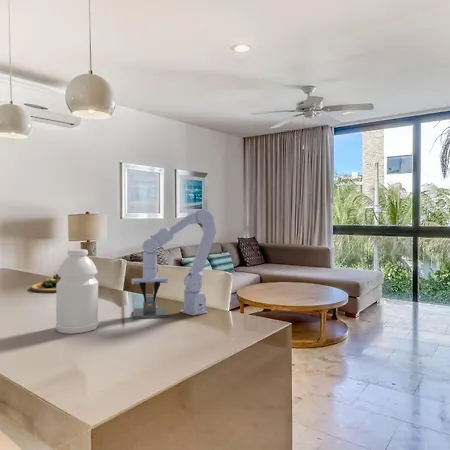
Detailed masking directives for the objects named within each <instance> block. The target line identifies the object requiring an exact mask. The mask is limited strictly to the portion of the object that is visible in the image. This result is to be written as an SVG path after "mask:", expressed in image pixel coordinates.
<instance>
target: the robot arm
mask: <svg viewBox="0 0 450 450" xmlns="http://www.w3.org/2000/svg"><path fill="white" fill-rule="evenodd" d="M214 218H215V217H214V215H213V214H212V212H211V211H210V210H209V209H207V208H202V209H197V210H196V211H195V212H192V213H189V214H188V215H186V216H184V217H183V218H182V219H180V220H179V221H178V222H176V223H174V225H172V226H170V227H161V228H160V229H159V231H158V232H157V233H155V234H153V235H150V236H149V237H150V238H147V239H146V240H144V242H143V243H142V249H143V253H142V255H143V256H142V277H137V278H136V277H135V278H131V285H134V284H137V285H138V284H139V288H140V290H141V293H142V295H143V302H144V301H146V294H147V291H146V290H147V289H146V288H147V287H146V286H147V284H153V294H154V297H153V301H155V300H156V296H157V294H158V291H159V288H160V286H161V284H168V283H169V281H168V278H169V277H158V256H157V251H158V249H159V248H162V247H163V246H164V245H166V244H167V243H169V242H170V241H172V240H173V239H174V236H175V234H176V233H179V232H180V231H181V230H183V229H184V228H186V227H188V226H190V225H193V224H194V225H195V224H197V225H198V226H199V227H200V228H201V231H202V233H203V234H202V237H201V240H200V243H199V245H198V248H197V252H196V254H195V257H194V260H193V262H192V266H191V268H190V269H189V271H188V273H187V275H186V276H185V277H184V279H183V283H184V286H185V287H184V290H183V309H180V310H179V312H181V313H183V314H186V315H189V316H190V315H191V316H197V315H202V314H207V313H208V311H207V297H206V296H205V294H204V293H202V289H201V288H202V286H203V282H202V279H203V276H204V275H203V274H204V269H205V265H206V262H207V260H208V256H209V254H210V251H211V248H212V245H213V242H214V239H215V235H216V233H217V229H216V224H215V221H214V220H215V219H214Z"/></svg>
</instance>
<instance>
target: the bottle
mask: <svg viewBox="0 0 450 450" xmlns="http://www.w3.org/2000/svg"><path fill="white" fill-rule="evenodd" d="M67 255H68V257H67V258H65V259H64V261H63V262H62V263H61V265H60V266H59V269H58V271H57V273H56V274H58V275H59V276H60V278H61V279H60V280H59V282H57V284H56V293H55V294H56V295H55V296H56V297H55V298H56V299H55V300H56V304H55V305H56V307H55V308H56V309H55V310H56V313H55V315H56V317H55V318H56V321H55V322H56V323H55V330H56V331H57V332H58V333H61V334H70V335H73V334H82V333H88V332H91V331H93V330H95V329H97V328H98V327H99V319H98V318H99V316H98V315H99V310H98V309H99V280H97V278H96V277H95V276H96V275H97V274H98V269H97V266H96V265H95V263H94V262H93V260H92V259H91V258H90V257H88V255H89V251H88V249H84V248H83V249H82V248H81V249H80V248H76V249H75V248H73V249H68V250H67Z"/></svg>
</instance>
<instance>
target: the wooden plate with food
mask: <svg viewBox="0 0 450 450" xmlns="http://www.w3.org/2000/svg"><path fill="white" fill-rule="evenodd" d="M60 279H61V278H60V276H59V275H58V274H57V273H56V274H54V275H53V276H52V277H49V278H47V279H45V280H43V281H42V282H38V283H34V284H32V285H31V286H30V290H31V291H32V292H36V293H42V294H44V293H46V294H56V284H57V282H59V280H60Z"/></svg>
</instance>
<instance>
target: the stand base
mask: <svg viewBox="0 0 450 450" xmlns="http://www.w3.org/2000/svg"><path fill="white" fill-rule="evenodd" d="M142 305H143V307H140V308H139V307H138V308H135V307H134V308H133V312H132V320H138V319H139V320H141V319H165V318H167V311H166V307H157V300H156V299H155V301H153V303H146V301H144V300H143V304H142Z"/></svg>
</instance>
